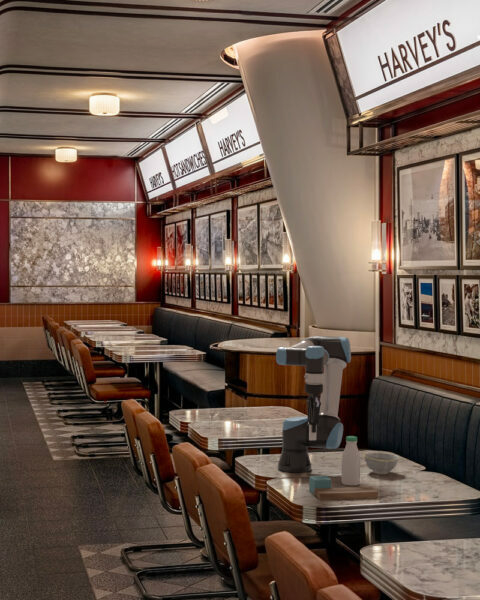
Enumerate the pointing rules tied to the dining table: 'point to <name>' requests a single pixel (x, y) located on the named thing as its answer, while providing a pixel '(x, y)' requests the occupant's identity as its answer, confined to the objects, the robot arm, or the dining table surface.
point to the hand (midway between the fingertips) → (312, 439)
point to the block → (319, 482)
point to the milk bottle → (351, 463)
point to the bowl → (381, 462)
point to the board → (345, 493)
